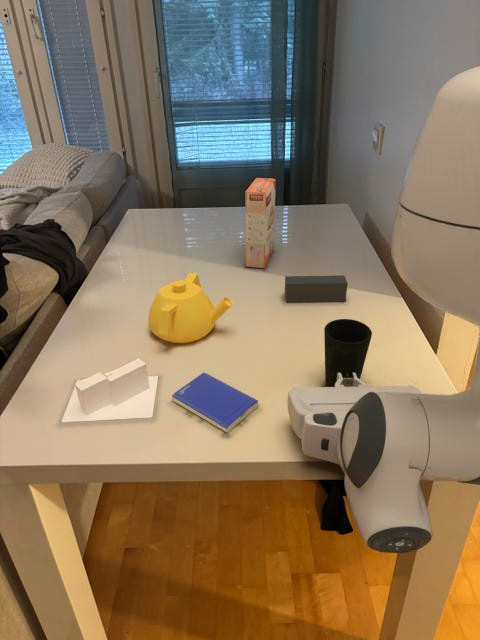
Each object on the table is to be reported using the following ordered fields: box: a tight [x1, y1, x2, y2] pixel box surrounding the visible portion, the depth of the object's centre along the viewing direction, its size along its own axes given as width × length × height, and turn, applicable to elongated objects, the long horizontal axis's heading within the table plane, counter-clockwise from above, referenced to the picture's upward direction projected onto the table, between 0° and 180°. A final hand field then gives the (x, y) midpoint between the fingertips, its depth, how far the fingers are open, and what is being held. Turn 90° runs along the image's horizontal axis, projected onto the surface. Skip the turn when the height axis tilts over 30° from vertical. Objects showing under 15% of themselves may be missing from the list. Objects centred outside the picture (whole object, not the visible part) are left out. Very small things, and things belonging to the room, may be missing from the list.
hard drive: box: [171, 372, 259, 434], centre depth 79 cm, size 2×8×12 cm
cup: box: [323, 318, 373, 387], centre depth 79 cm, size 8×8×12 cm
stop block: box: [284, 275, 349, 304], centre depth 110 cm, size 14×4×5 cm, turn 90°
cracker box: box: [244, 177, 277, 269], centre depth 126 cm, size 14×6×21 cm, turn 167°
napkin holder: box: [61, 358, 159, 423], centre depth 80 cm, size 15×11×6 cm
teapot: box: [148, 272, 234, 344], centre depth 97 cm, size 20×18×11 cm
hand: (345, 375), depth 76 cm, fingers closed, pressing on cup
